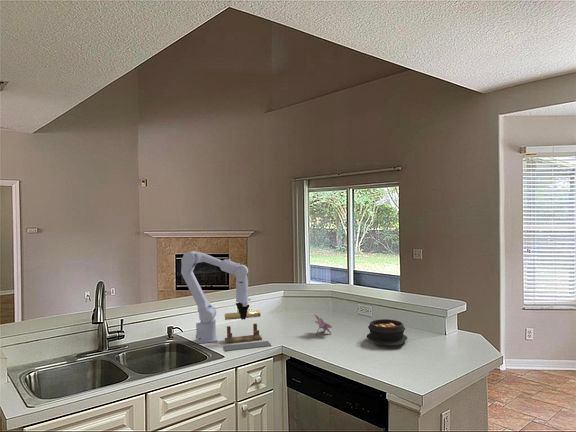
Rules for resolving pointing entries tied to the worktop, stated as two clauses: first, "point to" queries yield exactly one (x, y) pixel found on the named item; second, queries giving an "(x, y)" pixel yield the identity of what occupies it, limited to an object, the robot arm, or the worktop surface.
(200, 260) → the robot arm
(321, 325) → the lily
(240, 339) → the hook stand
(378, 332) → the casserole
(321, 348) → the worktop surface
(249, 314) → the rail
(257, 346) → the mat
